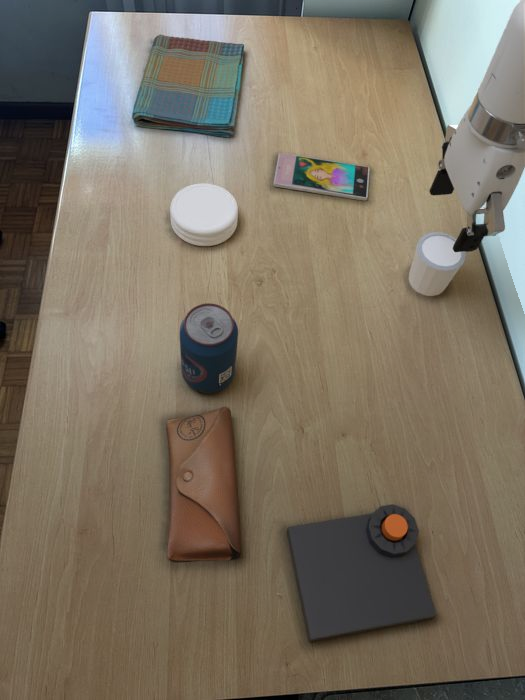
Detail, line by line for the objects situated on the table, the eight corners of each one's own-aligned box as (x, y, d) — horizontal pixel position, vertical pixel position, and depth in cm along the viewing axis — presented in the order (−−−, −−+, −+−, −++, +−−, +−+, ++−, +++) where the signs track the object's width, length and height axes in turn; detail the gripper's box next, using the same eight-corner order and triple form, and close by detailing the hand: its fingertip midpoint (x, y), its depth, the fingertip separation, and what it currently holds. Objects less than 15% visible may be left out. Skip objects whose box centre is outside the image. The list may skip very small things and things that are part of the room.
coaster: (160, 236, 98) (159, 220, 95) (184, 191, 103) (184, 174, 100) (224, 255, 97) (225, 239, 94) (245, 208, 102) (246, 192, 99)
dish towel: (130, 127, 110) (128, 115, 108) (153, 41, 122) (152, 28, 120) (233, 139, 110) (234, 127, 108) (246, 52, 122) (247, 39, 120)
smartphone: (367, 198, 104) (273, 183, 104) (366, 201, 105) (272, 187, 105) (369, 166, 108) (278, 152, 108) (368, 170, 109) (278, 155, 109)
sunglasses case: (161, 417, 83) (188, 394, 78) (210, 426, 86) (238, 405, 82) (165, 564, 73) (196, 549, 69) (219, 567, 77) (252, 552, 73)
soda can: (171, 369, 87) (166, 318, 77) (213, 342, 89) (214, 289, 79) (203, 407, 84) (203, 359, 74) (245, 377, 87) (251, 328, 77)
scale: (402, 510, 79) (409, 501, 76) (433, 618, 73) (443, 612, 70) (285, 529, 77) (289, 520, 74) (308, 642, 71) (312, 637, 68)
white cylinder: (399, 291, 96) (412, 260, 90) (409, 257, 100) (422, 225, 94) (445, 305, 96) (461, 276, 90) (454, 270, 99) (470, 239, 93)
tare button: (400, 516, 76) (404, 512, 74) (407, 539, 74) (410, 535, 73) (378, 520, 75) (381, 515, 74) (385, 542, 74) (388, 539, 73)
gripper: (567, 169, 69) (501, 270, 83) (507, 62, 77) (457, 171, 92) (501, 174, 67) (445, 276, 82) (447, 64, 76) (406, 174, 90)
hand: (451, 220), depth 87 cm, fingers open, 9 cm apart
